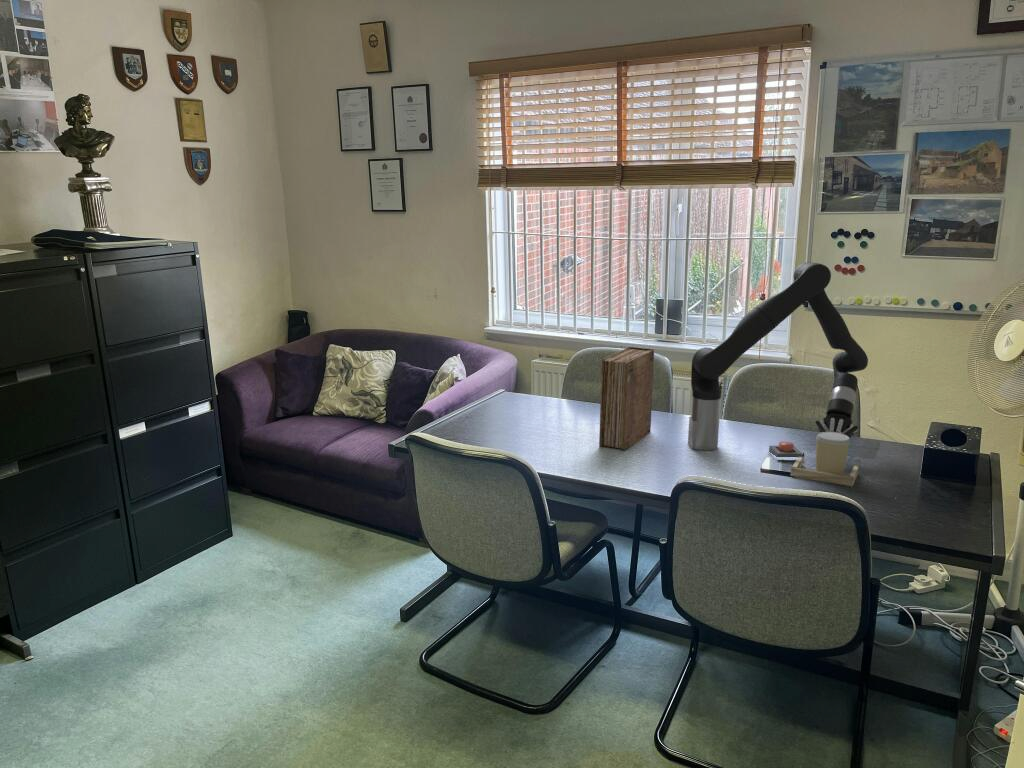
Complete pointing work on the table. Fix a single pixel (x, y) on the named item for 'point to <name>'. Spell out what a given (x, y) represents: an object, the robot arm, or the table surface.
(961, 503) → the table surface
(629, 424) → the brown plywood block
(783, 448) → the button
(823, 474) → the holder
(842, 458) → the coffee cup
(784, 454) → the button box
